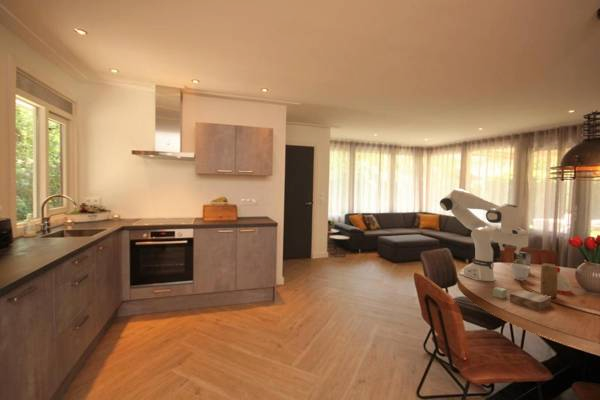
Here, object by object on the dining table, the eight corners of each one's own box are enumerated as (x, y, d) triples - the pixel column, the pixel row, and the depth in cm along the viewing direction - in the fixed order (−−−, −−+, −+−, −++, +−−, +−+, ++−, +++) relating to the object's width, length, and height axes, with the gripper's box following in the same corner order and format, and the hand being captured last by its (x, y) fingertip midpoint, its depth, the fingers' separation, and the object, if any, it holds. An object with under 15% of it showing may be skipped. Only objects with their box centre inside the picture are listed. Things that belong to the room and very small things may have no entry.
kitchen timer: (574, 291, 178) (575, 268, 178) (566, 295, 172) (567, 271, 171) (547, 284, 190) (547, 263, 190) (538, 288, 184) (539, 266, 183)
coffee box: (512, 270, 223) (513, 251, 223) (518, 269, 225) (519, 250, 224) (524, 273, 214) (525, 253, 214) (530, 273, 216) (531, 253, 216)
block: (557, 299, 164) (558, 267, 163) (540, 296, 169) (541, 265, 168) (555, 294, 173) (556, 263, 172) (539, 291, 177) (540, 261, 176)
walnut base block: (510, 301, 162) (510, 293, 162) (521, 297, 169) (522, 289, 169) (539, 311, 150) (539, 302, 150) (550, 306, 156) (551, 297, 156)
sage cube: (493, 295, 171) (493, 288, 170) (497, 294, 173) (497, 286, 173) (502, 298, 166) (502, 290, 166) (506, 297, 169) (506, 289, 168)
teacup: (520, 275, 210) (520, 262, 210) (534, 282, 195) (535, 268, 195) (503, 275, 211) (503, 262, 211) (516, 281, 196) (517, 268, 196)
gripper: (490, 227, 179) (490, 248, 180) (522, 232, 159) (521, 255, 160) (498, 227, 181) (498, 248, 181) (530, 232, 161) (530, 255, 161)
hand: (509, 251), depth 170 cm, fingers open, 8 cm apart
